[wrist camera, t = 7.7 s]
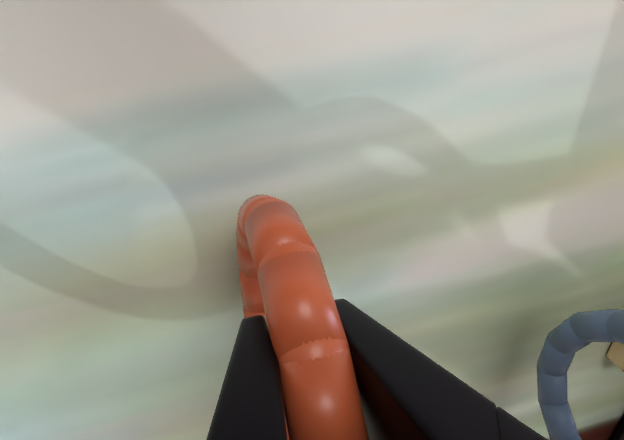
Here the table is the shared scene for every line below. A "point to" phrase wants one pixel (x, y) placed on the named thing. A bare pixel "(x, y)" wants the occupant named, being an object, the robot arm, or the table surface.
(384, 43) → the table surface
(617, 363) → the peg rack
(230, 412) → the robot arm
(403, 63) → the table surface
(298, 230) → the terracotta ring
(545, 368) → the slate ring
